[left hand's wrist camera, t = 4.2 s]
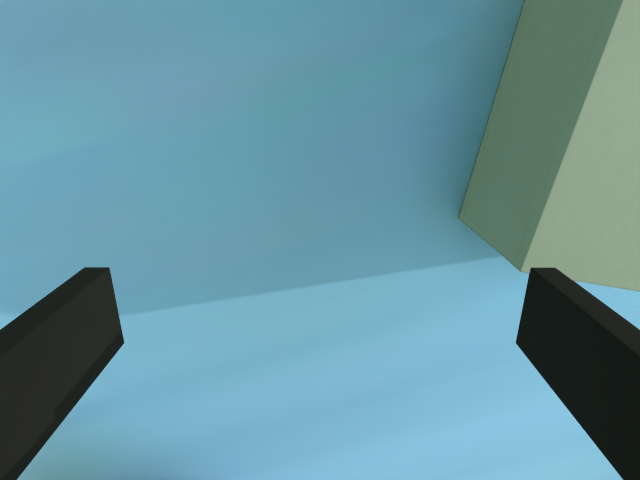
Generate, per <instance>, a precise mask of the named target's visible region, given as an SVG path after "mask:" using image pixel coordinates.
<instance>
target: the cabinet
mask: <svg viewBox="0 0 640 480" xmlns="http://www.w3.org/2000/svg"><path fill="white" fill-rule="evenodd" d="M459 219H460V220H461V221H462V222H464V223H465V224H466V225H467V226H468V227H469V228H471V229H472V230H473V231H474V232H475V233H476V234H478V235H479V236H480V237H481V238H482V239H483V240H485V241H486V242H487V243H488V244H489V245H490V246H492V247H493V248H494V249H495V250H496V251H497V252H499V253H500V254H501V255H502V256H503V257H504V258H506V259H507V260H508V261H509V262H510V263H511V264H513V266H514V267H516V268H517V269H518V270H519V271H520V272H526V273H530V269H531V268H557V269H558V270H559V271H561V272H562V273H563V274H565V275H566V276H567V277H569V278H570V279H571V280H574V281H580V282H586V283H592V284H598V285H604V286H610V287H616V288H622V289H628V290H634V291H640V0H525V2H524V5H523V8H522V12H521V15H520V18H519V21H518V25H517V28H516V31H515V35H514V38H513V41H512V44H511V48H510V51H509V54H508V57H507V61H506V64H505V67H504V71H503V74H502V77H501V80H500V84H499V87H498V90H497V93H496V97H495V100H494V103H493V106H492V110H491V113H490V116H489V120H488V123H487V126H486V129H485V133H484V136H483V139H482V142H481V146H480V149H479V152H478V156H477V159H476V162H475V165H474V169H473V172H472V175H471V178H470V182H469V185H468V188H467V192H466V195H465V198H464V201H463V205H462V208H461V211H460V214H459Z"/></svg>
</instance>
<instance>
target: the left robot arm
mask: <svg viewBox="0 0 640 480" xmlns="http://www.w3.org/2000/svg"><path fill="white" fill-rule="evenodd" d="M123 344H124V340H123V335H122V329H121V324H120V319H119V314H118V309H117V304H116V299H115V294H114V289H113V284H112V279H111V274H110V269H109V268H83V269H82V270H81V271H79V272H78V273H77V274H75V275H74V276H73V277H71V278H70V279H69V280H67V281H66V282H64V283H63V284H62V285H60V286H59V287H58V288H56V289H55V290H54V291H52V292H51V293H50V294H48V295H47V296H46V297H44V298H43V299H41V300H40V301H39V302H37V303H36V304H35V305H33V306H32V307H31V308H29V309H28V310H27V311H25V312H24V313H22V314H21V315H20V316H18V317H17V318H16V319H14V320H13V321H12V322H10V323H9V324H8V325H6V326H5V327H4V328H2V329H1V330H0V480H17V479H18V477H19V476H20V475H21V473H22V472H23V471H24V470H25V468H26V467H27V466H28V465H29V463H30V462H31V461H32V459H33V458H34V457H35V456H36V454H37V453H38V452H39V451H40V449H41V448H42V447H43V445H44V444H45V443H46V442H47V440H48V439H49V438H50V437H51V435H52V434H53V433H54V431H55V430H56V429H57V428H58V426H59V425H60V424H61V423H62V421H63V420H64V419H65V417H66V416H67V415H68V414H69V412H70V411H71V410H72V409H73V407H74V406H75V405H76V404H77V402H78V401H79V400H80V398H81V397H82V396H83V395H84V393H85V392H86V391H87V390H88V388H89V387H90V386H91V384H92V383H93V382H94V381H95V379H96V378H97V377H98V376H99V374H100V373H101V372H102V370H103V369H104V368H105V367H106V365H107V364H108V363H109V362H110V360H111V359H112V358H113V356H114V355H115V354H116V353H117V351H118V350H119V349H120V348H121V346H122V345H123ZM516 344H517V345H518V346H519V348H520V349H521V350H522V351H523V353H524V354H525V355H526V356H527V358H528V359H529V360H530V362H531V363H532V364H533V365H534V367H535V368H536V369H537V370H538V372H539V373H540V374H541V376H542V377H543V378H544V379H545V381H546V382H547V383H548V384H549V386H550V387H551V388H552V390H553V391H554V392H555V393H556V395H557V396H558V397H559V398H560V400H561V401H562V402H563V404H564V405H565V406H566V407H567V409H568V410H569V411H570V412H571V414H572V415H573V416H574V417H575V419H576V420H577V421H578V423H579V424H580V425H581V426H582V428H583V429H584V430H585V431H586V433H587V434H588V435H589V437H590V438H591V439H592V440H593V442H594V443H595V444H596V445H597V447H598V448H599V449H600V451H601V452H602V453H603V454H604V456H605V457H606V458H607V459H608V461H609V462H610V463H611V465H612V466H613V467H614V468H615V470H616V471H617V472H618V473H619V475H620V476H621V477H622V479H623V480H640V330H639V329H638V328H636V327H635V326H634V325H632V324H631V323H630V322H628V321H627V320H626V319H624V318H623V317H622V316H620V315H619V314H618V313H616V312H615V311H613V310H612V309H611V308H609V307H608V306H607V305H605V304H604V303H603V302H601V301H600V300H599V299H597V298H596V297H594V296H593V295H592V294H590V293H589V292H588V291H586V290H585V289H584V288H582V287H581V286H580V285H578V284H577V283H576V282H574V281H573V280H571V279H570V278H569V277H567V276H566V275H565V274H563V273H562V272H561V271H559V270H558V269H557V268H531V269H530V274H529V279H528V284H527V289H526V294H525V299H524V304H523V309H522V314H521V319H520V324H519V329H518V334H517V340H516Z"/></svg>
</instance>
